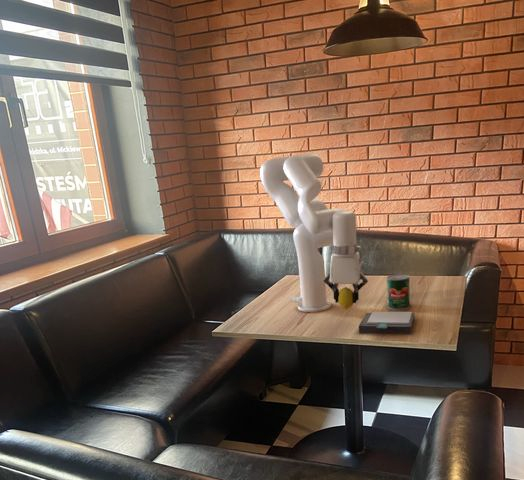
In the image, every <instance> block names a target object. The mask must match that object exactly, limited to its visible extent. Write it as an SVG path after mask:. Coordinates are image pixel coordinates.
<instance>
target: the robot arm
mask: <svg viewBox="0 0 524 480" xmlns="http://www.w3.org/2000/svg"><path fill="white" fill-rule="evenodd" d="M259 169H260V170H259V174H260V175H259V176H260V181H261V184H262V186H263V188H264V190H265V191H266V193H267V194H268V196H269V197H270V198H271V199H272V200H273V201H274V203H275V204H276V206H277V207H278V209H279V211H280V213H281V214H282V216H283V217H284V220H285V221H286V222H287V224H288V225H289V226H290V227H292V228H294V231H293V234H292V237H293V242H294V246H295V251H296V256H297V263H298V277H299V287H300V295H299V296H291V297H290V302H291V303H292V304H298V305H297V309H298V310H299V311H300V312H304V313H316V312H318V313H319V312H323V311H327V310H328V309H330V308H332V303H331V301H329V300H328V299H327V286H328V287H329V288H330V289H331V291H332V292H333V300H334V303H335V304H337V303H339V302H338V294H339V292H340V289H339V288H338V287H339V285H352V287H353V304H356V303H357V302H358V301H359V299H360V297H359V295H360V294H359V291H360V290H361V289H362V288H363V287H364V286H365V285H367V284H368V283H369V279H368V278H367V277H366V276H365V275H364V274H363V272H362V263H361V262H362V261H361V256H360V252H358V251H361V250H362V246H361V245H358V243H357V215H356V213H355V212H354V211H352V210H345V209H343V208H341V207H334V208H328V206H327V204H326V203H325V202H324V201H323V200H321V199H320V198H317V197H318V196H319V195H320V193H321V191H322V189H323V186H322V183H321V181H320V179H319V177H321V175H322V174H323V172H324V162H323V160H322V158H321V157H320V155H318V154H316V153H302V154H295V155H289V156H280V157H273V158H269V159H267V160H265V161H264V162H263V163H262V164H261V166H260V168H259ZM285 181H286V182H287V181H289V182H290V184H291V185H292V186H291V185H289V184H288V183H286V182H285ZM330 246H332V248H333V252H332V253H331V256H330V264H329V265H330V266H329V273H328V275H327V276H326V270H325V269H326V268H325V259H324V256H323V255H322V254H321V252H320V251H319V249H320V248H325V247H330ZM360 281H361V282H360Z"/></svg>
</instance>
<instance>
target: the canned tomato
mask: <svg viewBox="0 0 524 480" xmlns="http://www.w3.org/2000/svg"><path fill="white" fill-rule="evenodd" d="M410 294H411V293H410V275H408V274H401V273H399V274H398V273H397V274H390V275H387V276H386V302H387V304H386V305H387V309H389V310H393V311H402V310H407V309H409V308H410V307H411V301H410V296H411V295H410Z"/></svg>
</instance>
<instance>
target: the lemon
mask: <svg viewBox="0 0 524 480" xmlns="http://www.w3.org/2000/svg"><path fill="white" fill-rule="evenodd" d="M353 292H354V290H352V289H351V288H349V287H347V286H345V287H343V288H341V289H339V294H338V302H337V303H338V304H339V306H340V307H341V308H343V309H344V310H348V309H349V308H351V307H352V306H353V305H354V303H353Z"/></svg>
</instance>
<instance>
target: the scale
mask: <svg viewBox="0 0 524 480" xmlns="http://www.w3.org/2000/svg"><path fill="white" fill-rule="evenodd" d="M415 320H416V313H415V312H413V311H372V312H365V314H364V316H363V318H362V319H361V321H360V323H359V324H358V334H372V335H373V334H374V335H378V334H381V335H411V334H412V331H413V328H414V324H415Z"/></svg>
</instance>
